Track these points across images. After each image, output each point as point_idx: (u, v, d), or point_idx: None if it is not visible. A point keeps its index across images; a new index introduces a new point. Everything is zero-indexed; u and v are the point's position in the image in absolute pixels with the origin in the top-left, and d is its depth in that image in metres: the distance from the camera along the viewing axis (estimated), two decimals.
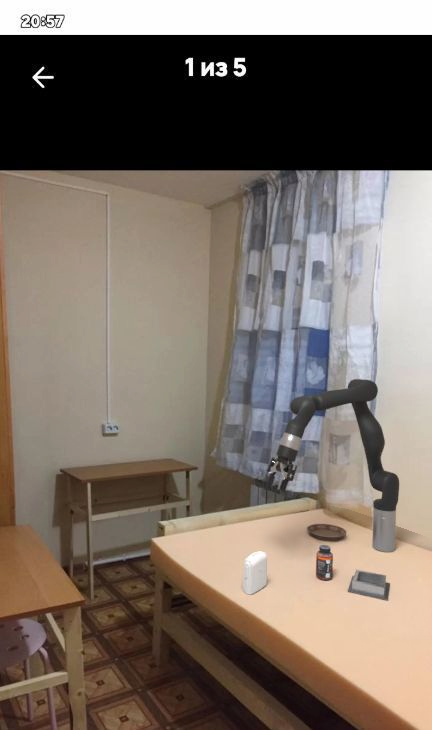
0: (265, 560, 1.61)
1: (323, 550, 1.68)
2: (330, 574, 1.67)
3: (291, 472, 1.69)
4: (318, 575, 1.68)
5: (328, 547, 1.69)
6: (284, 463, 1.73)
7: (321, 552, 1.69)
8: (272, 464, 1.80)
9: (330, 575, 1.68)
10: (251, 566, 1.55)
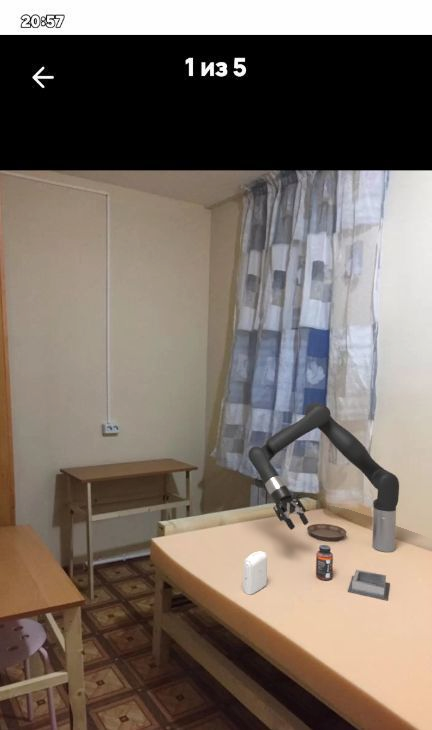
0: (265, 560, 1.61)
1: (323, 550, 1.68)
2: (330, 574, 1.67)
3: (277, 513, 1.78)
4: (318, 575, 1.68)
5: (328, 547, 1.69)
6: None
7: (321, 552, 1.69)
8: None
9: (330, 575, 1.68)
10: (251, 566, 1.55)
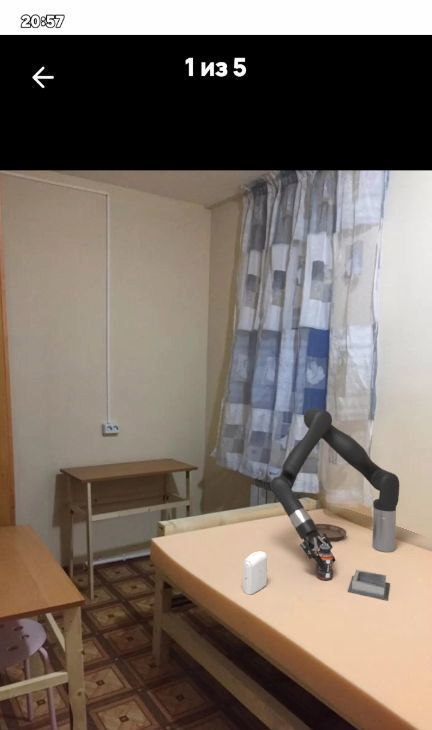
0: (265, 560, 1.61)
1: (323, 550, 1.68)
2: (330, 574, 1.67)
3: (305, 551, 1.68)
4: (318, 575, 1.68)
5: (328, 547, 1.69)
6: None
7: (321, 552, 1.69)
8: (323, 542, 1.77)
9: (330, 575, 1.68)
10: (251, 566, 1.55)
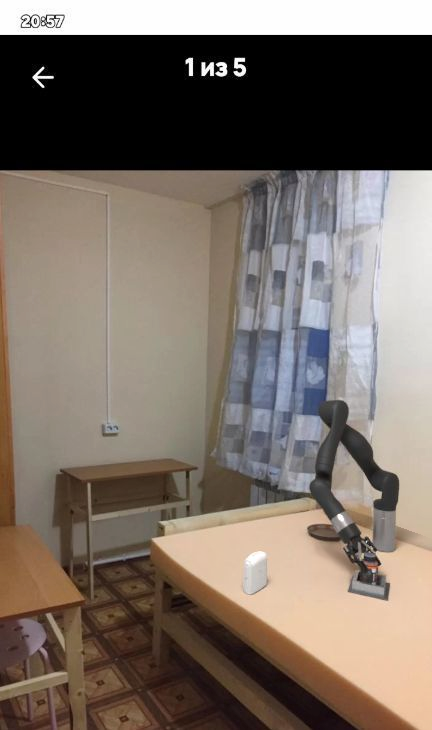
0: (265, 560, 1.61)
1: (368, 558, 1.61)
2: (375, 584, 1.60)
3: (348, 555, 1.61)
4: None
5: (373, 555, 1.62)
6: None
7: (366, 560, 1.61)
8: None
9: (376, 584, 1.60)
10: (251, 566, 1.55)
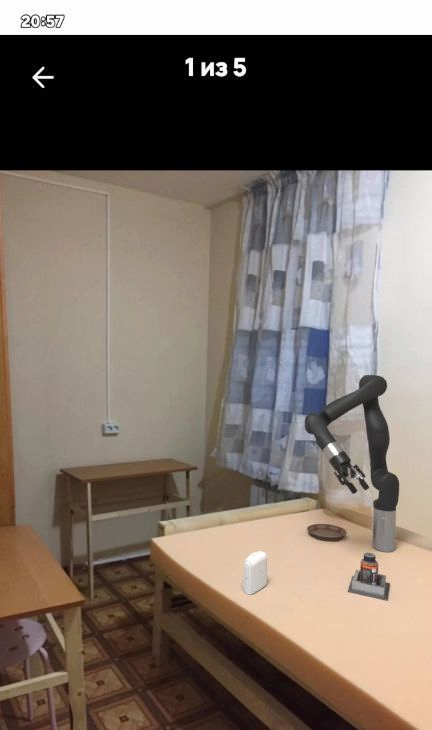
0: (265, 560, 1.61)
1: (368, 558, 1.61)
2: (375, 584, 1.60)
3: (338, 477, 1.75)
4: None
5: (373, 555, 1.62)
6: None
7: (366, 560, 1.61)
8: (356, 472, 1.84)
9: (376, 584, 1.60)
10: (251, 566, 1.55)
